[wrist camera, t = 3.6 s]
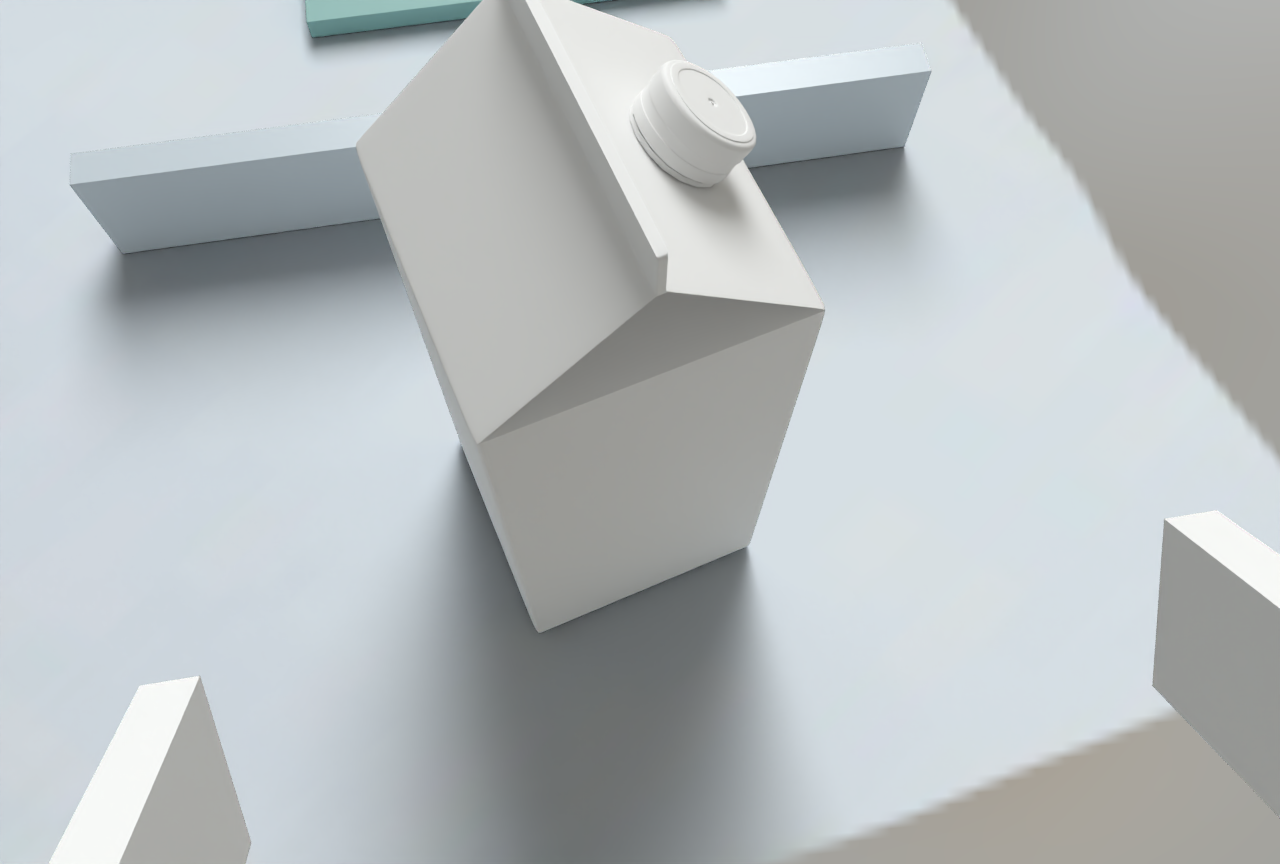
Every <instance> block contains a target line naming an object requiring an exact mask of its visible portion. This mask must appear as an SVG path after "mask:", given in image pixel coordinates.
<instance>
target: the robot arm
mask: <svg viewBox="0 0 1280 864" xmlns="http://www.w3.org/2000/svg"><path fill="white" fill-rule="evenodd" d="M1152 686H1153V687H1154V688H1155V689H1156V690H1157V691H1158V692H1159V693H1160V694H1161V695H1162V696H1163V697H1164V698H1165V699H1166V701H1167V702H1168V703H1169V704H1170V705H1171V706H1172V707H1173V708H1174V709H1175V710H1176V711H1177V712H1178V713H1179V714H1180V715H1181V716H1182V717H1183V718H1184V719H1185V720H1186V721H1187V722H1188V723H1189V724H1190V726H1191V727H1192V728H1193V729H1194V730H1195V731H1196V732H1197V733H1198V734H1199V735H1200V736H1201V737H1202V738H1203V739H1204V740H1205V741H1206V742H1207V743H1208V744H1209V745H1210V746H1211V747H1212V748H1213V749H1214V750H1215V752H1216V753H1217V754H1218V755H1219V756H1220V757H1221V758H1222V759H1223V760H1224V761H1225V762H1226V763H1227V764H1228V765H1229V766H1230V767H1231V768H1232V769H1233V770H1234V771H1235V772H1236V773H1237V774H1238V775H1239V776H1240V778H1241V779H1242V780H1243V781H1244V782H1245V783H1246V784H1247V785H1248V786H1249V787H1250V788H1251V789H1252V790H1253V791H1254V792H1255V793H1256V794H1257V795H1258V796H1259V797H1260V798H1261V799H1262V800H1263V801H1264V803H1265V804H1266V805H1267V806H1268V807H1269V808H1270V809H1271V810H1272V811H1273V812H1274V813H1275V814H1276V815H1277V816H1278V817H1279V818H1280V555H1279V554H1278V553H1276V552H1275V551H1274V550H1272V549H1271V548H1269V547H1268V546H1267V545H1265V544H1264V543H1262V542H1261V541H1259V540H1258V539H1257V538H1255V537H1254V536H1252V535H1251V534H1250V533H1248V532H1247V531H1245V530H1244V529H1242V528H1241V527H1240V526H1238V525H1237V524H1235V523H1234V522H1233V521H1231V520H1230V519H1228V518H1227V517H1226V516H1224V515H1223V514H1221V513H1220V512H1218V511H1217V510H1216V511H1210V512H1203V513H1197V514H1191V515H1185V516H1179V517H1173V518H1167V519H1164V528H1163V543H1162V557H1161V571H1160V585H1159V600H1158V614H1157V628H1156V642H1155V656H1154V671H1153V685H1152ZM250 846H251V840H250V837H249V833H248V830H247V827H246V824H245V820H244V817H243V814H242V811H241V807H240V804H239V801H238V798H237V794H236V791H235V788H234V785H233V781H232V778H231V775H230V772H229V768H228V765H227V762H226V759H225V755H224V752H223V749H222V746H221V742H220V739H219V736H218V733H217V729H216V726H215V723H214V720H213V716H212V713H211V710H210V707H209V704H208V700H207V697H206V694H205V691H204V687H203V684H202V681H201V678H200V676H196V677H190V678H183V679H177V680H171V681H165V682H159V683H153V684H147V685H140V686H139V688H138V690H137V692H136V694H135V696H134V698H133V700H132V702H131V704H130V706H129V708H128V710H127V712H126V713H125V715H124V717H123V719H122V721H121V723H120V725H119V727H118V729H117V731H116V733H115V735H114V737H113V739H112V741H111V743H110V745H109V747H108V749H107V751H106V753H105V754H104V756H103V758H102V760H101V762H100V764H99V766H98V768H97V770H96V772H95V774H94V776H93V778H92V780H91V782H90V784H89V786H88V788H87V790H86V792H85V794H84V795H83V797H82V799H81V801H80V803H79V805H78V807H77V809H76V811H75V813H74V815H73V817H72V819H71V821H70V823H69V825H68V827H67V829H66V831H65V833H64V835H63V837H62V838H61V840H60V842H59V844H58V846H57V848H56V850H55V852H54V854H53V856H52V858H51V860H50V862H49V864H245V863H246V860H247V856H248V853H249V849H250Z"/></svg>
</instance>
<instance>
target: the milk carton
mask: <svg viewBox="0 0 1280 864" xmlns="http://www.w3.org/2000/svg"><path fill="white" fill-rule="evenodd" d="M755 144H756V132H755V128H754V126H753V123H752V121H751V119H750V117H749V115H748V113H747V112H746V110H745V108H744V107H743V105H742V104H741V103H740V101H739V100H738V99H737V97H736V96H735V95H734V94H733V93H732V92H731V90H730V89H729V88H728V87H727V86H726V85H725V84H724V83H723V82H722V81H720V80H719V79H718V78H716V77H715V76H714V75H713V74H711V73H710V72H708V71H706V70H705V69H703V68H701V67H699V66H697V65H695V64H692V63H690V62H687V61H686V59H685V58H684V56H683V54H682V53H681V51H680V50H679V48H678V46H677V45H676V43H675V42H674V41H673V40H672V39H671V38H670V37H669V36H667V35H664V34H662V33H659V32H657V31H654V30H651V29H648V28H646V27H643V26H640V25H637V24H634V23H632V22H629V21H626V20H623V19H620V18H618V17H615V16H612V15H609V14H606V13H604V12H601V11H598V10H595V9H593V8H590V7H587V6H584V5H581V4H579V3H576V2H573V1H570V0H482V1H481V3H480V4H479V5H478V6H477V7H476V8H475V9H474V10H473V12H472V13H471V14H470V15H469V16H468V17H467V18H466V19H465V21H464V22H463V23H462V24H461V25H460V26H459V27H458V28H457V30H456V31H455V32H454V33H453V34H452V35H451V36H450V37H449V39H448V40H447V41H446V42H445V43H444V44H443V45H442V46H441V48H440V49H439V50H438V51H437V52H436V53H435V54H434V55H433V57H432V58H431V59H430V60H429V61H428V62H427V63H426V64H425V66H424V67H423V68H422V69H421V70H420V71H419V72H418V74H417V75H416V76H415V77H414V78H413V79H412V80H411V81H410V83H409V84H408V85H407V86H406V87H405V88H404V89H403V90H402V92H401V93H400V94H399V95H398V96H397V97H396V98H395V99H394V101H393V102H392V103H391V104H390V105H389V106H388V107H387V108H386V110H385V111H384V112H383V113H382V114H381V115H380V116H379V117H378V119H377V120H376V121H375V122H374V123H373V124H372V125H371V126H370V128H369V129H368V130H367V131H366V132H365V133H364V134H363V136H362V137H361V138H360V139H359V140H358V141H357V143H356V150H357V154H358V157H359V160H360V163H361V166H362V169H363V172H364V175H365V177H366V180H367V183H368V186H369V189H370V191H371V194H372V197H373V200H374V203H375V205H376V208H377V211H378V214H379V216H380V219H381V222H382V225H383V228H384V230H385V233H386V236H387V239H388V242H389V244H390V247H391V250H392V253H393V256H394V258H395V261H396V264H397V267H398V269H399V272H400V275H401V278H402V281H403V283H404V286H405V289H406V292H407V295H408V297H409V300H410V303H411V306H412V309H413V311H414V314H415V317H416V320H417V322H418V325H419V328H420V331H421V334H422V336H423V339H424V342H425V345H426V348H427V350H428V353H429V356H430V359H431V362H432V364H433V367H434V370H435V373H436V375H437V378H438V381H439V384H440V387H441V389H442V392H443V395H444V398H445V401H446V403H447V406H448V409H449V412H450V415H451V417H452V420H453V423H454V426H455V428H456V431H457V434H458V437H459V440H460V442H461V445H462V448H463V450H464V453H465V455H466V458H467V461H468V463H469V466H470V468H471V471H472V473H473V476H474V478H475V481H476V483H477V486H478V488H479V491H480V493H481V496H482V498H483V501H484V503H485V506H486V508H487V511H488V513H489V516H490V518H491V521H492V523H493V526H494V528H495V531H496V533H497V536H498V538H499V541H500V543H501V546H502V548H503V551H504V553H505V556H506V558H507V561H508V563H509V566H510V568H511V571H512V573H513V576H514V578H515V581H516V583H517V586H518V588H519V591H520V593H521V596H522V598H523V601H524V603H525V606H526V608H527V611H528V613H529V615H530V618H531V620H532V622H533V625H534V627H535V629H536V630H537V632H539V633H540V632H544V631H546V630H549V629H551V628H553V627H556V626H558V625H561V624H563V623H565V622H568V621H570V620H573V619H575V618H577V617H580V616H582V615H584V614H587V613H589V612H592V611H594V610H596V609H599V608H601V607H604V606H606V605H608V604H611V603H613V602H616V601H618V600H620V599H623V598H625V597H627V596H630V595H632V594H635V593H637V592H639V591H642V590H644V589H647V588H649V587H651V586H654V585H656V584H658V583H661V582H663V581H666V580H668V579H670V578H673V577H675V576H678V575H680V574H682V573H685V572H687V571H689V570H692V569H694V568H697V567H699V566H701V565H704V564H706V563H709V562H711V561H713V560H716V559H718V558H720V557H723V556H725V555H728V554H730V553H732V552H735V551H737V550H740V549H742V548H744V547H747V546H748V545H749V544H750V541H751V538H752V535H753V532H754V529H755V526H756V523H757V520H758V517H759V514H760V511H761V508H762V505H763V501H764V498H765V495H766V492H767V489H768V486H769V483H770V480H771V477H772V474H773V471H774V468H775V465H776V462H777V459H778V456H779V453H780V449H781V446H782V443H783V440H784V437H785V434H786V431H787V428H788V425H789V422H790V419H791V416H792V413H793V410H794V407H795V404H796V400H797V397H798V394H799V391H800V388H801V385H802V382H803V379H804V376H805V373H806V370H807V367H808V364H809V361H810V358H811V355H812V352H813V348H814V345H815V342H816V339H817V336H818V333H819V330H820V327H821V323H822V320H823V316H824V312H825V308H824V304H823V302H822V300H821V298H820V296H819V294H818V292H817V290H816V288H815V287H814V285H813V283H812V281H811V279H810V277H809V275H808V273H807V272H806V270H805V268H804V266H803V264H802V263H801V261H800V259H799V257H798V255H797V253H796V252H795V250H794V248H793V246H792V245H791V243H790V241H789V239H788V238H787V236H786V234H785V232H784V231H783V229H782V227H781V225H780V224H779V222H778V220H777V218H776V217H775V215H774V213H773V211H772V210H771V208H770V206H769V204H768V203H767V201H766V199H765V197H764V196H763V194H762V192H761V190H760V189H759V187H758V185H757V183H756V182H755V180H754V178H753V176H752V175H751V173H750V171H749V169H748V168H747V166H746V164H745V162H744V160H743V159H744V158H745V157H746V156H747V155H748V154H749V153H750V152H751V151H752V149H753V148H754V146H755Z"/></svg>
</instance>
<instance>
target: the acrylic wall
mask: <svg viewBox="0 0 1280 864" xmlns="http://www.w3.org/2000/svg"><path fill="white" fill-rule="evenodd" d="M931 71H932V70H931V67H930V64H929V61H928V59H927V56H926V53H925V50H924V47H923V44H922V43H917V44H909V45H901V46H894V47H886V48H878V49H871V50H863V51H855V52H848V53H840V54H832V55H825V56H817V57H809V58H802V59H794V60H786V61H779V62H771V63H763V64H756V65H748V66H740V67H732V68H725V69H717V70H709V71H708V72H710V73H711V74H713V75H714V76H715V77H716V78H718V79H719V80H720V81H722V82H723V83H724V84H725V85H726V86H727V87H728V88H729V89H730V90H731V92H732V93H733V94H734V95H735V96H736V97H737V99H738V100H739V101H740V103H741V104H742V105H743V107H744V108H745V110H746V112H747V113H748V115H749V117H750V119H751V121H752V123H753V126H754V128H755V132H756V144H755V146H754V148H753V149H752V151H751V152H750V153H749V154H748V155H747V156H746V157H745V158H744V159H743V160H744V162H745V164H746V166H747V168H751V167H758V166H765V165H773V164H780V163H787V162H795V161H802V160H809V159H816V158H824V157H831V156H838V155H846V154H853V153H860V152H867V151H875V150H882V149H889V148H897V147H904V146H905V143H906V141H907V138H908V135H909V132H910V130H911V127H912V124H913V121H914V118H915V116H916V113H917V110H918V107H919V105H920V102H921V99H922V96H923V93H924V91H925V88H926V85H927V82H928V80H929V77H930V74H931ZM381 114H382V113H379V114H371V115H364V116H356V117H348V118H341V119H333V120H325V121H318V122H310V123H302V124H295V125H287V126H279V127H272V128H264V129H256V130H249V131H241V132H233V133H226V134H218V135H210V136H202V137H195V138H187V139H179V140H172V141H164V142H156V143H149V144H141V145H133V146H126V147H118V148H110V149H103V150H95V151H87V152H80V153H72V154H71V155H70V184H69V185H70V186H71V187H72V189H73V190H74V191H75V192H76V194H77V195H78V196H79V198H80V199H81V200H82V202H83V203H84V204H85V206H86V207H87V208H88V209H89V211H90V212H91V213H92V215H93V216H94V217H95V219H96V220H97V221H98V222H99V224H100V225H101V226H102V228H103V229H104V230H105V232H106V233H107V234H108V235H109V237H110V238H111V239H112V241H113V242H114V243H115V245H116V246H117V247H118V248H119V250H120V251H121V252H122V254H124V253H131V252H139V251H146V250H153V249H161V248H168V247H175V246H182V245H190V244H197V243H204V242H212V241H219V240H226V239H233V238H241V237H248V236H255V235H263V234H270V233H277V232H284V231H292V230H299V229H306V228H314V227H321V226H328V225H335V224H343V223H350V222H357V221H365V220H372V219H379V218H380V216H379V214H378V211H377V208H376V205H375V203H374V200H373V197H372V194H371V191H370V189H369V186H368V183H367V180H366V177H365V175H364V172H363V169H362V166H361V163H360V160H359V157H358V154H357V150H356V143H357V141H358V140H359V139H360V138H361V137H362V136H363V134H364V133H365V132H366V131H367V130H368V129H369V128H370V126H371V125H372V124H373V123H374V122H375V121H376V120H377V119H378V117H379V116H380V115H381Z"/></svg>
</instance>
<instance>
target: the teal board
mask: <svg viewBox="0 0 1280 864" xmlns="http://www.w3.org/2000/svg"><path fill="white" fill-rule="evenodd" d="M481 1H482V0H305V5H306V19H307V24H308V27H309V30H310V33H311V35H312V38H313V37H321V36H329V35H337V34H345V33H353V32H361V31H369V30H377V29H385V28H393V27H401V26H409V25H417V24H425V23H433V22H441V21H449V20H457V19H465V18H467V17H468V16H469V15H470V14H471V13H472V12H473V10H474V9H475V8H476V7H477V6H478V5H479V4H480V3H481ZM570 1H573V2H576V3H579V4H586V3H594V2H602V1H610V0H570Z"/></svg>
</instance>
